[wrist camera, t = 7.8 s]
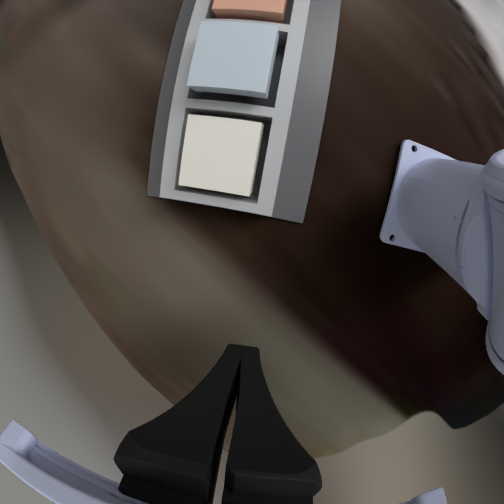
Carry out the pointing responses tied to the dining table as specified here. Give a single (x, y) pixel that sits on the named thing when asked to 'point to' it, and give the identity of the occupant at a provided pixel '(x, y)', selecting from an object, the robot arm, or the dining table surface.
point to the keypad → (253, 110)
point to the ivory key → (220, 154)
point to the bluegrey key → (234, 58)
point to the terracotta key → (251, 10)
